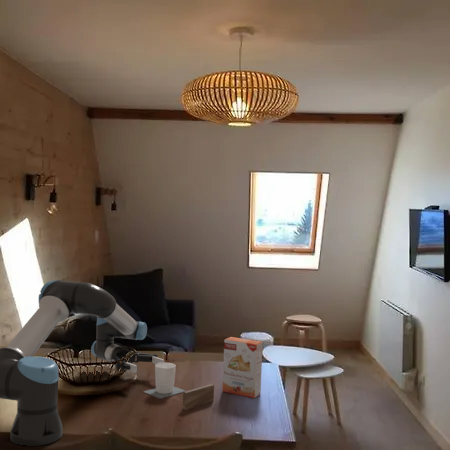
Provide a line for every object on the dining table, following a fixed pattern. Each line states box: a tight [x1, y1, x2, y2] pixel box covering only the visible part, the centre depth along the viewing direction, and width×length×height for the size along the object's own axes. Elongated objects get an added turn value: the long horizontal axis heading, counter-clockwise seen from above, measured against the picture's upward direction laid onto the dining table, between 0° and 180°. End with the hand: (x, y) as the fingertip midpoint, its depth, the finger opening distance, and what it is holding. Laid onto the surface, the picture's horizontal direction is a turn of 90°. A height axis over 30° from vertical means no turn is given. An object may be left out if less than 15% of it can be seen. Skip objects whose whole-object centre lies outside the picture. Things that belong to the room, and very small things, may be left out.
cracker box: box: [221, 336, 264, 399], centre depth 221 cm, size 14×6×21 cm, turn 62°
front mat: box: [143, 386, 186, 400], centre depth 220 cm, size 10×13×1 cm
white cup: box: [154, 362, 177, 394], centre depth 219 cm, size 8×8×10 cm
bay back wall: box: [182, 383, 215, 411], centre depth 207 cm, size 2×14×6 cm, turn 137°
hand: (150, 366), depth 226 cm, fingers open, 13 cm apart
